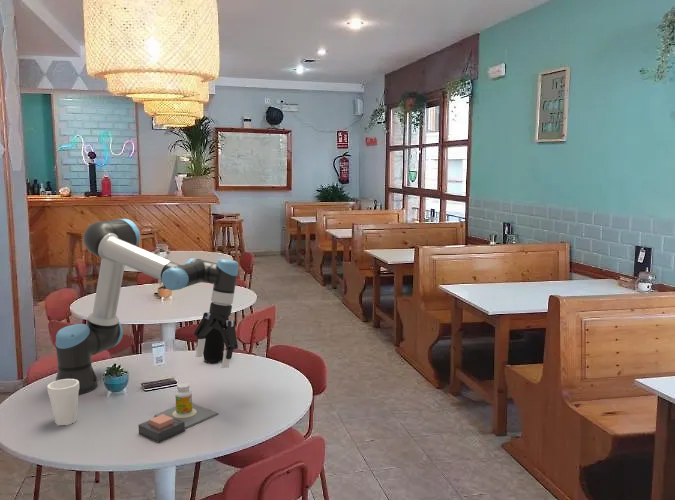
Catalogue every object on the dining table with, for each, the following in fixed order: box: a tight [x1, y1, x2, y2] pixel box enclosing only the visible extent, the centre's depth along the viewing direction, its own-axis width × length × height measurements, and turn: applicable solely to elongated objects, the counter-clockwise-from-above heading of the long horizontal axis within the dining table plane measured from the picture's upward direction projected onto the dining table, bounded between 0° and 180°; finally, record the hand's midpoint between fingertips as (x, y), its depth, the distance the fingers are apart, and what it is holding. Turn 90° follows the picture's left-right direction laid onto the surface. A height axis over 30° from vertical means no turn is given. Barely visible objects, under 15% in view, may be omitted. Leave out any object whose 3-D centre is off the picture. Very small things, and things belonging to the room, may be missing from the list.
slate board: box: [154, 402, 219, 430], centre depth 204 cm, size 16×14×1 cm
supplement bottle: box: [174, 382, 193, 415], centre depth 204 cm, size 5×5×10 cm
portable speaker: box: [203, 320, 225, 365], centre depth 257 cm, size 9×9×20 cm
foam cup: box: [46, 379, 80, 426], centre depth 198 cm, size 10×9×13 cm
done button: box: [148, 414, 174, 429], centre depth 191 cm, size 5×5×2 cm
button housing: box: [137, 414, 186, 444], centre depth 191 cm, size 10×10×3 cm
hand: (211, 362), depth 214 cm, fingers open, 13 cm apart
